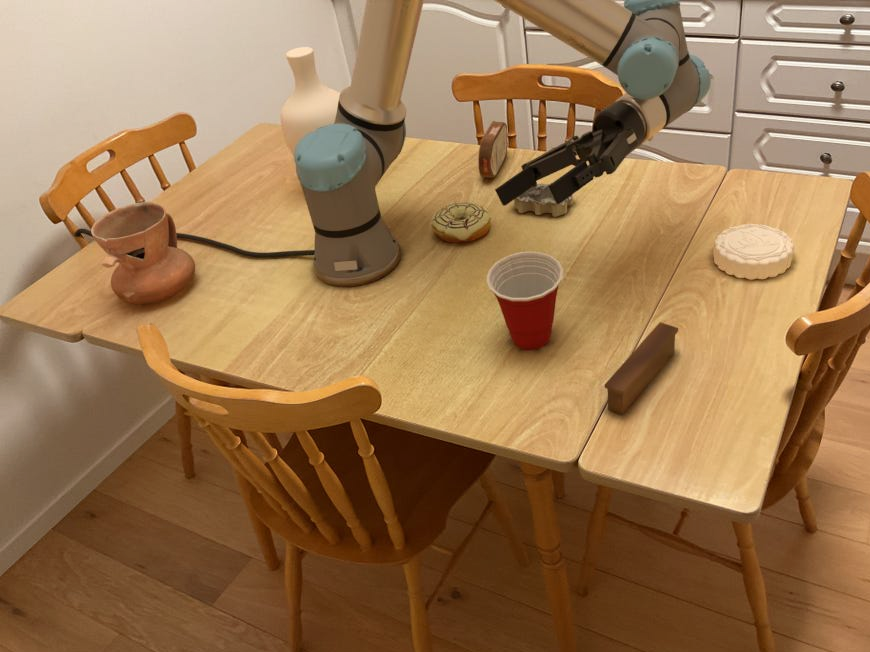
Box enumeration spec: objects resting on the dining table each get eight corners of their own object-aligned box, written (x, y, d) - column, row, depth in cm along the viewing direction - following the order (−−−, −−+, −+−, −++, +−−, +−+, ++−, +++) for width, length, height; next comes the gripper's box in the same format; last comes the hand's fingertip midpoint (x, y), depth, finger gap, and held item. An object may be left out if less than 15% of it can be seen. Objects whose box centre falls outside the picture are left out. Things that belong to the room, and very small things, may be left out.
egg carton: (577, 200, 146) (576, 180, 143) (562, 220, 141) (561, 200, 138) (526, 193, 150) (524, 174, 147) (509, 212, 145) (507, 192, 143)
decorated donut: (469, 251, 136) (466, 233, 134) (422, 238, 142) (418, 220, 139) (502, 223, 142) (499, 205, 140) (455, 212, 148) (452, 194, 145)
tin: (497, 151, 166) (493, 114, 160) (511, 151, 165) (508, 113, 160) (479, 185, 155) (474, 146, 150) (494, 185, 154) (489, 146, 149)
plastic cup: (484, 356, 113) (474, 289, 106) (509, 313, 121) (501, 247, 113) (554, 367, 110) (549, 299, 102) (576, 322, 117) (572, 255, 109)
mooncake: (777, 235, 128) (780, 216, 126) (802, 275, 119) (806, 256, 117) (704, 244, 129) (706, 225, 127) (724, 284, 120) (726, 265, 118)
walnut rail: (605, 409, 102) (604, 384, 99) (659, 346, 110) (659, 321, 108) (623, 417, 101) (623, 391, 98) (677, 353, 109) (678, 327, 106)
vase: (288, 190, 164) (246, 56, 146) (342, 164, 170) (309, 33, 152) (325, 210, 155) (287, 70, 137) (382, 181, 161) (352, 44, 144)
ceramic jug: (166, 320, 131) (132, 248, 122) (97, 313, 135) (60, 243, 126) (222, 261, 144) (195, 193, 135) (157, 257, 148) (127, 190, 139)
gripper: (698, 138, 106) (591, 219, 99) (586, 152, 127) (491, 219, 120) (679, 87, 103) (568, 166, 96) (567, 110, 124) (469, 176, 117)
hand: (525, 196), depth 108 cm, fingers open, 13 cm apart
